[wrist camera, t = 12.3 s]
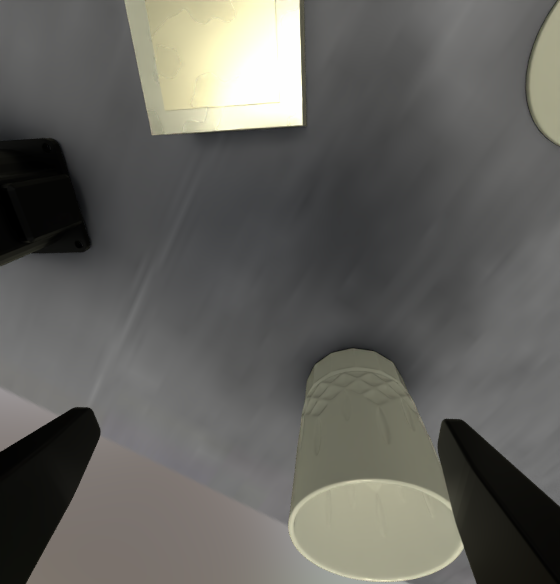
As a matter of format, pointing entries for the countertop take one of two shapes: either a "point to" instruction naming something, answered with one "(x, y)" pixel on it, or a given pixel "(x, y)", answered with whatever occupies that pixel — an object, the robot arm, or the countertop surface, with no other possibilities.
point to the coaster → (546, 77)
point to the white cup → (368, 476)
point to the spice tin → (220, 64)
